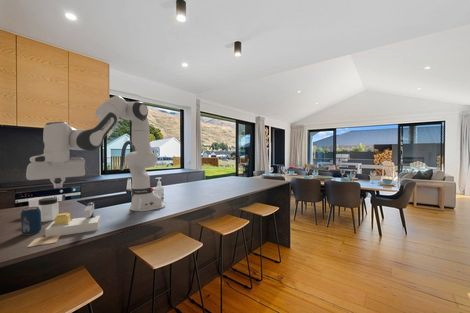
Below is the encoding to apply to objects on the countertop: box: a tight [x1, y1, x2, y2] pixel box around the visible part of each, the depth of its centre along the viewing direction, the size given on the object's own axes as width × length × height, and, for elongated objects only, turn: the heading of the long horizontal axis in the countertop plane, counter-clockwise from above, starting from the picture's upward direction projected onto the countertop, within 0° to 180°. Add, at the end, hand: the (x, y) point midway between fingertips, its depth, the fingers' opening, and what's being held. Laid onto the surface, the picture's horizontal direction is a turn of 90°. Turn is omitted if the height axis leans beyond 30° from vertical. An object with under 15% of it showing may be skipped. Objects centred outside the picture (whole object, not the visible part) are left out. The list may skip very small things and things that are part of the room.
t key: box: [83, 202, 95, 218], centre depth 106 cm, size 3×15×7 cm, turn 28°
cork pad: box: [27, 235, 61, 248], centre depth 91 cm, size 9×9×1 cm
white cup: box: [28, 196, 47, 208], centre depth 128 cm, size 8×8×10 cm
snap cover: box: [54, 212, 71, 225], centre depth 101 cm, size 5×5×5 cm
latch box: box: [44, 215, 101, 237], centre depth 104 cm, size 20×12×5 cm, turn 118°
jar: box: [38, 196, 60, 223], centre depth 119 cm, size 9×8×12 cm
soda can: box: [20, 206, 42, 236], centre depth 100 cm, size 7×7×12 cm
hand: (58, 187), depth 94 cm, fingers closed
